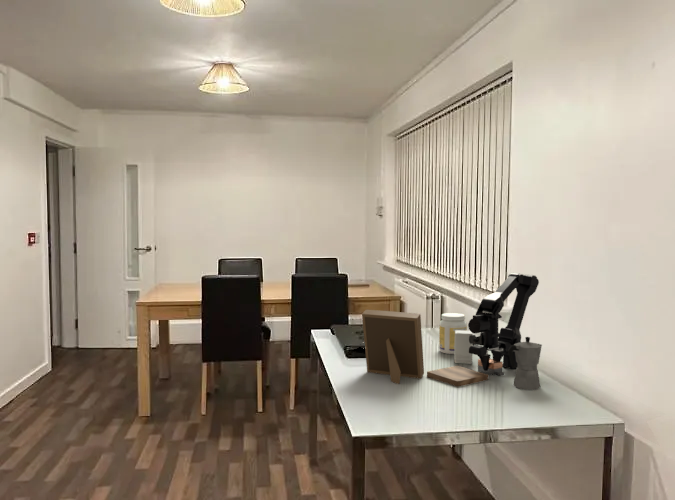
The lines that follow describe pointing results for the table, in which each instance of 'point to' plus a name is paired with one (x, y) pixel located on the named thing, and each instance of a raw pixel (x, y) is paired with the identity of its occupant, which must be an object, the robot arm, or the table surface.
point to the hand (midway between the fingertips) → (490, 369)
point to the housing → (492, 367)
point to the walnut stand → (457, 376)
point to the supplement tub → (450, 331)
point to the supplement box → (462, 347)
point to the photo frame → (393, 343)
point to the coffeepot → (526, 364)
